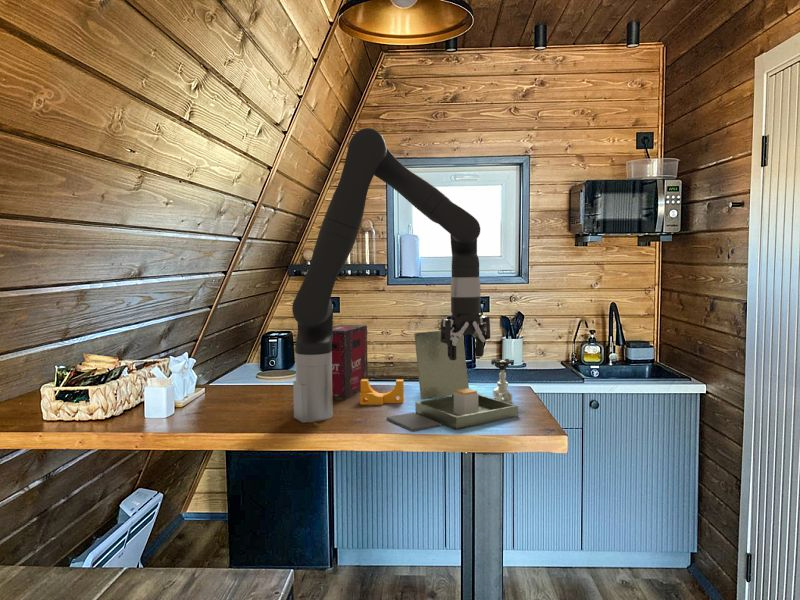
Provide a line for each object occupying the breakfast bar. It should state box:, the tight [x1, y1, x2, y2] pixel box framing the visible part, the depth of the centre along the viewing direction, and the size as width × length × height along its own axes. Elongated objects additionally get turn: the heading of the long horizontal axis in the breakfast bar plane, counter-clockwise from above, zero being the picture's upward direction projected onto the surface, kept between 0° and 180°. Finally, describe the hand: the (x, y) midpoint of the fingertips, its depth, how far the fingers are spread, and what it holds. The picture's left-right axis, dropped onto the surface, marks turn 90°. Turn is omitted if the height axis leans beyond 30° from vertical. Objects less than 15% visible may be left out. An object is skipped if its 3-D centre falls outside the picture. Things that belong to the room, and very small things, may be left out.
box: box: [332, 324, 369, 401], centre depth 170 cm, size 16×9×20 cm, turn 160°
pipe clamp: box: [359, 378, 405, 406], centre depth 157 cm, size 12×4×6 cm, turn 85°
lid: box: [413, 330, 470, 401], centre depth 152 cm, size 16×18×2 cm
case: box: [414, 393, 519, 431], centre depth 145 cm, size 20×22×11 cm
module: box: [454, 388, 479, 415], centre depth 143 cm, size 4×4×6 cm
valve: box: [490, 358, 515, 404], centre depth 156 cm, size 7×7×12 cm
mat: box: [386, 412, 441, 432], centre depth 137 cm, size 8×12×1 cm, turn 32°
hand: (466, 358), depth 143 cm, fingers open, 8 cm apart
